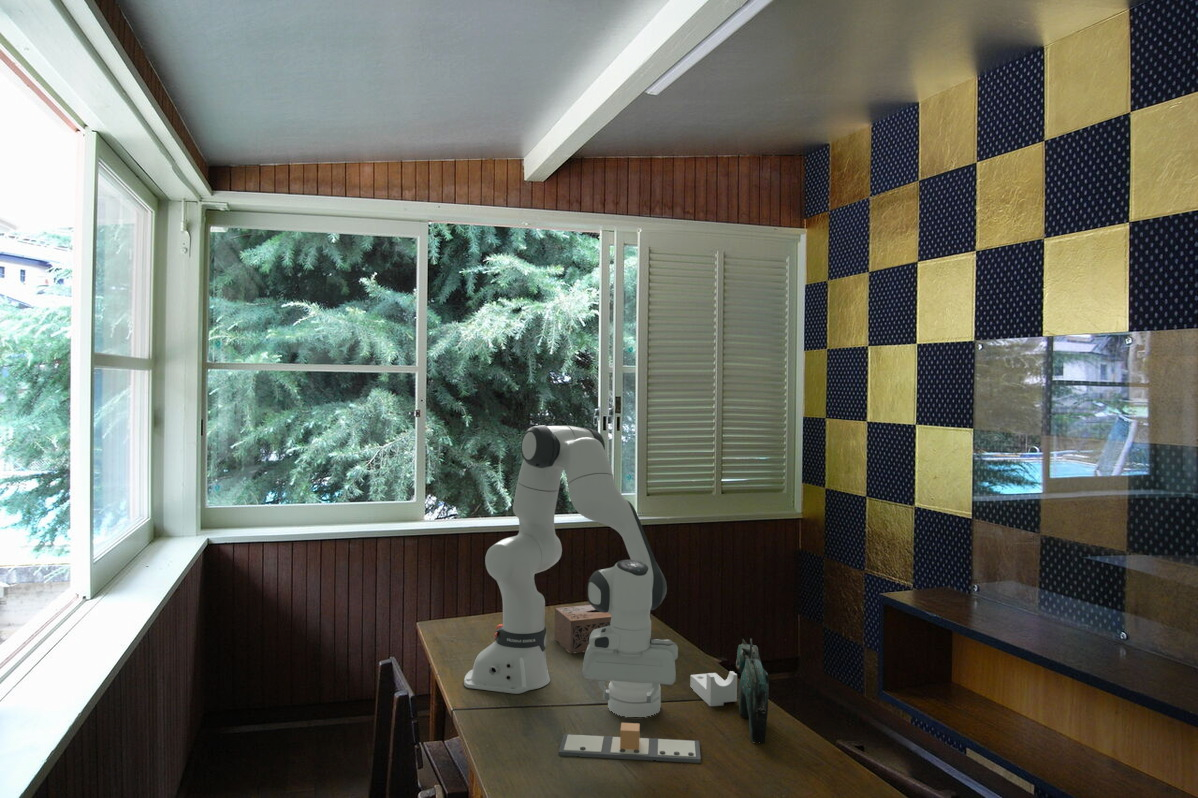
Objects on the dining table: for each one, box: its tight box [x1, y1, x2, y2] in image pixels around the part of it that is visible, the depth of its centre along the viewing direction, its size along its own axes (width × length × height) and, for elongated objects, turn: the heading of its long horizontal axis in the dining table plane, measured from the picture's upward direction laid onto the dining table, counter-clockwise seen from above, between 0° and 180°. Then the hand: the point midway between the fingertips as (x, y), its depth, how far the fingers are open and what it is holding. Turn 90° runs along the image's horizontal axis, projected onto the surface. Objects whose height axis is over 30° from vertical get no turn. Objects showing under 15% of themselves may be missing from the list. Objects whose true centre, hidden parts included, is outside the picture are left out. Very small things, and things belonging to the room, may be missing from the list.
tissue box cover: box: [553, 604, 652, 654], centre depth 252 cm, size 26×14×10 cm, turn 112°
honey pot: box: [607, 681, 662, 718], centre depth 201 cm, size 13×13×18 cm
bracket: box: [689, 670, 738, 707], centre depth 210 cm, size 13×7×8 cm, turn 16°
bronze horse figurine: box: [735, 637, 770, 744], centre depth 191 cm, size 20×6×20 cm, turn 178°
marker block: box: [619, 722, 641, 750], centre depth 178 cm, size 4×4×4 cm
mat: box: [558, 733, 702, 764], centre depth 178 cm, size 30×9×1 cm, turn 85°
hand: (627, 700), depth 178 cm, fingers open, 8 cm apart
